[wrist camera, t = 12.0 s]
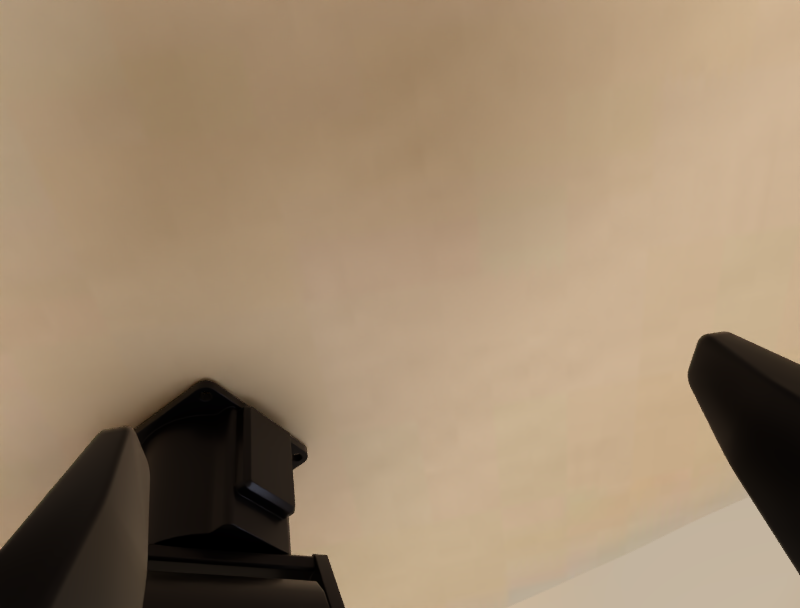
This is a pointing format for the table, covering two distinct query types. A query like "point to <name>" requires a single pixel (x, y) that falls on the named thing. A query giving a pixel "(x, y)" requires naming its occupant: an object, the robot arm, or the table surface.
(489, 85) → the table surface
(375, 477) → the table surface
